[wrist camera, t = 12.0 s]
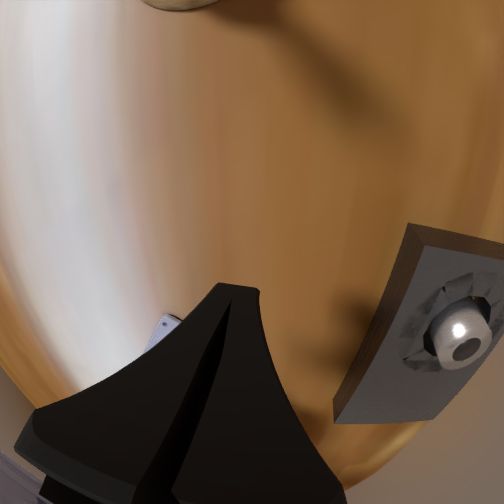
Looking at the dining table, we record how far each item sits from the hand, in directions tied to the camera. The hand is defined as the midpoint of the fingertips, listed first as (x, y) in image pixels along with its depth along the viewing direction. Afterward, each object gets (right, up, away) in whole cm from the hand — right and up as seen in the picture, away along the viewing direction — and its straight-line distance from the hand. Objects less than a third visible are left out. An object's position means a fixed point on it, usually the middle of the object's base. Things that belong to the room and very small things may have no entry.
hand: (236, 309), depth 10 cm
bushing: (+16, -2, +10) cm, 19 cm away
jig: (+16, -6, +12) cm, 20 cm away
